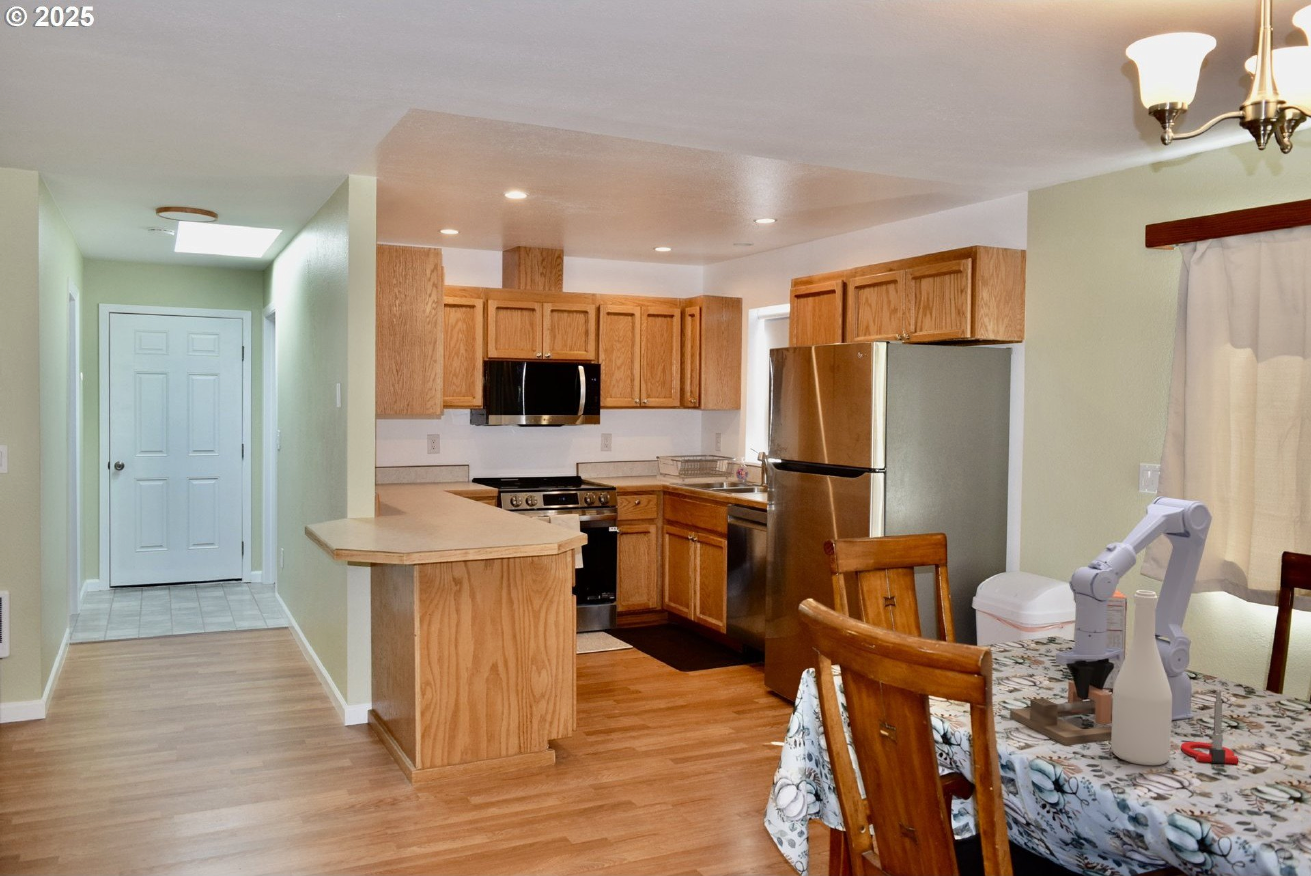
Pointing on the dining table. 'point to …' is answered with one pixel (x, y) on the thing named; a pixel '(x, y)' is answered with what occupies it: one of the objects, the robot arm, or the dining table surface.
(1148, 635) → the wine bottle
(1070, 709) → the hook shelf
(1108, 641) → the cracker box
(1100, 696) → the wooden arch block
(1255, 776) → the dining table surface
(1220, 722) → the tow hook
